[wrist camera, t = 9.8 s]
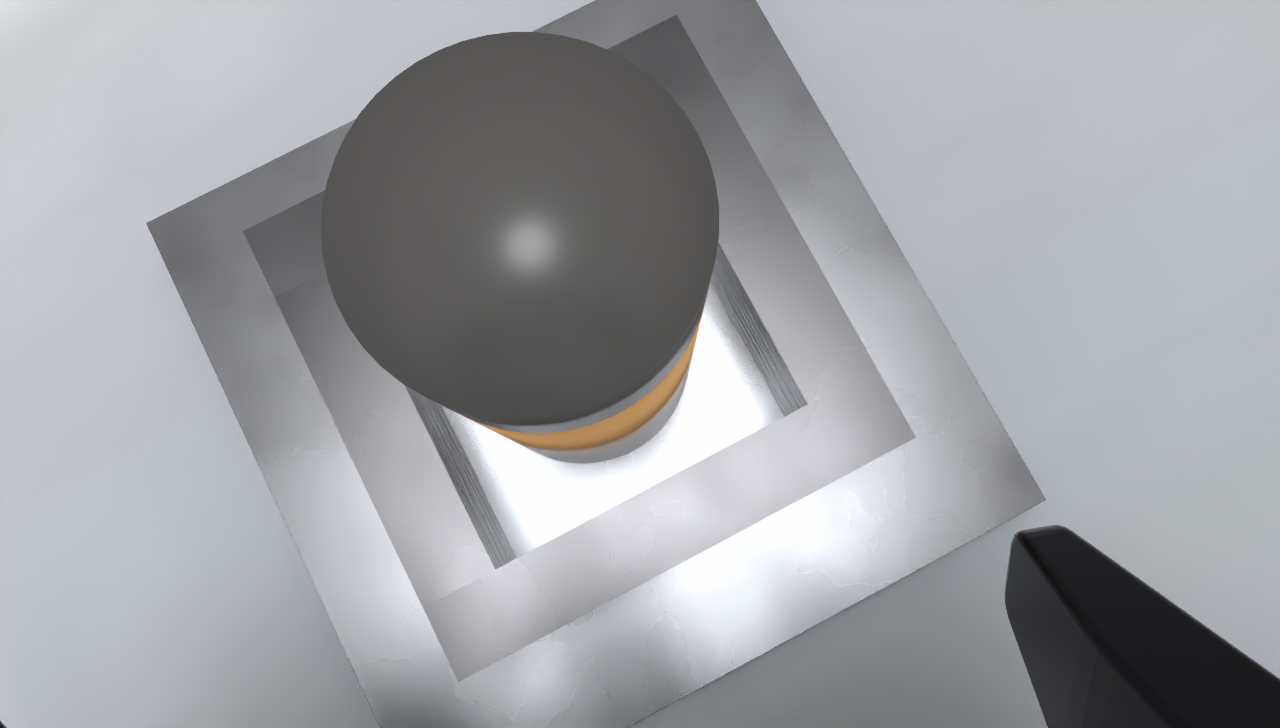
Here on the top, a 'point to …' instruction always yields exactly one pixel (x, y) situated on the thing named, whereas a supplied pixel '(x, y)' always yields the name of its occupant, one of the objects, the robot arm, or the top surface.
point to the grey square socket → (636, 482)
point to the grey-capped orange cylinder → (527, 240)
